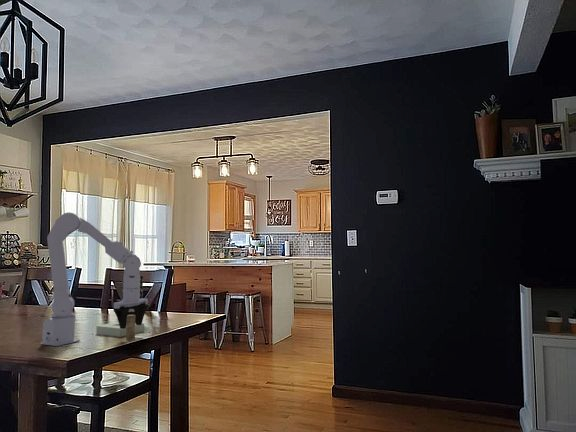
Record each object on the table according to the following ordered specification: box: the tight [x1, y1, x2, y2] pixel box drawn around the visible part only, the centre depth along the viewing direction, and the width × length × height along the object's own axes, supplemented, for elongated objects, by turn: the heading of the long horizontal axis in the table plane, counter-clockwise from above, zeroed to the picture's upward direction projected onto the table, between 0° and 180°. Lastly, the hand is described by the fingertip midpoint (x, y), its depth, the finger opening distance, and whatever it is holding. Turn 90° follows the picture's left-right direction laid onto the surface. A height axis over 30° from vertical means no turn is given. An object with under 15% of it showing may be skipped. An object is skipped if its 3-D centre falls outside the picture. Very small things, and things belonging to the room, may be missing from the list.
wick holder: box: [95, 321, 145, 338], centre depth 176 cm, size 12×12×3 cm
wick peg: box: [125, 315, 136, 340], centre depth 166 cm, size 3×3×8 cm
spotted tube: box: [121, 275, 144, 323], centre depth 198 cm, size 8×8×20 cm
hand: (130, 326), depth 166 cm, fingers open, 7 cm apart
